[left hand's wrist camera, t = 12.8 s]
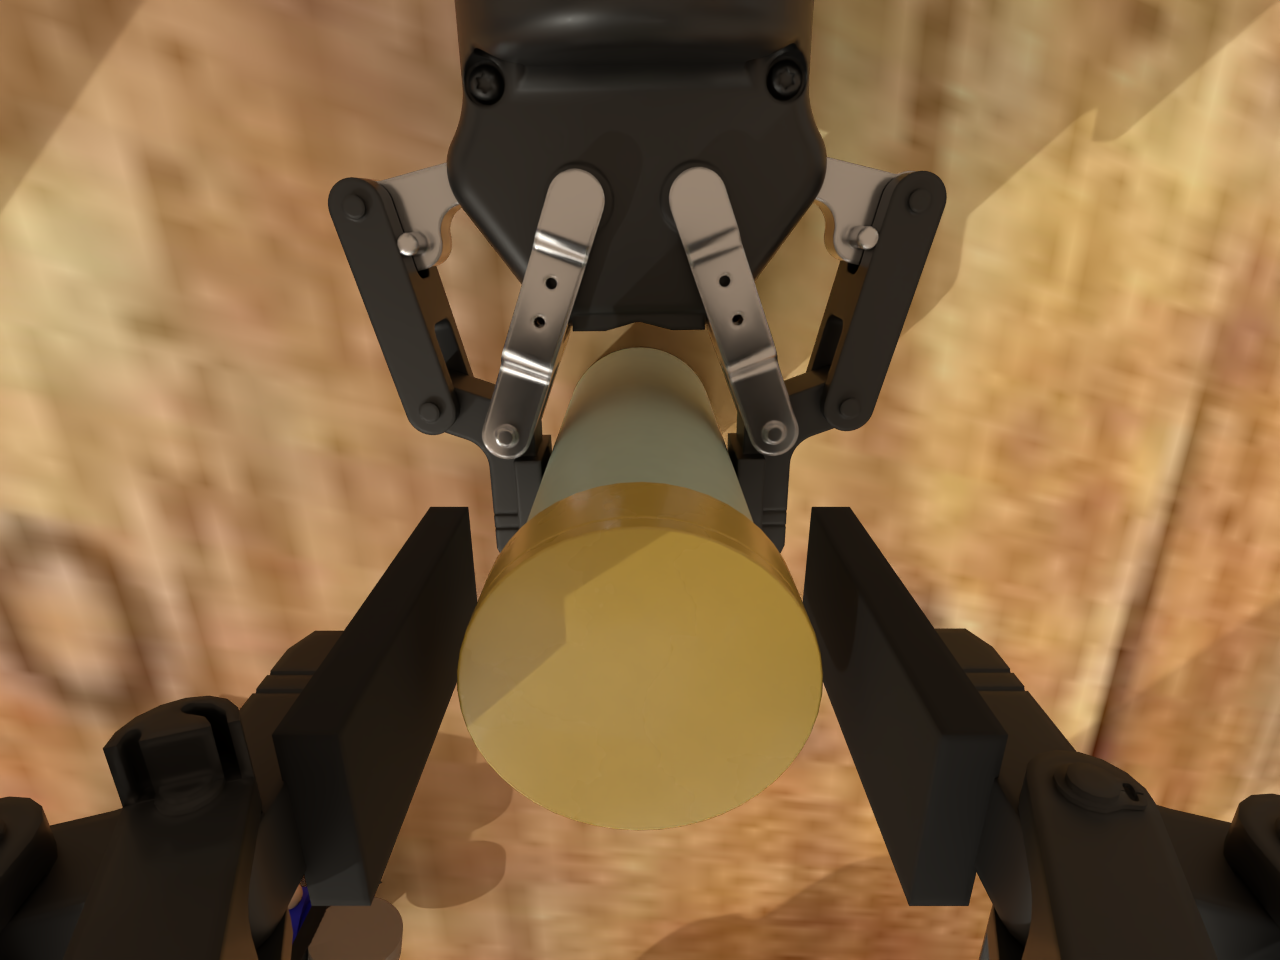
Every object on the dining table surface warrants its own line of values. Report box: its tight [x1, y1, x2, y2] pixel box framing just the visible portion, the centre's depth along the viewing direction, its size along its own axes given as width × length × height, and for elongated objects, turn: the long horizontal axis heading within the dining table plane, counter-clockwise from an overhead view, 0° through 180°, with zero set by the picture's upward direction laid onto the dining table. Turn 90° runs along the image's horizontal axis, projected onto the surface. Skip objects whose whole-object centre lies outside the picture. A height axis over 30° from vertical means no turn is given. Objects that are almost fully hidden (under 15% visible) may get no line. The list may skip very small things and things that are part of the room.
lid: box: [457, 482, 823, 830], centre depth 12 cm, size 6×6×2 cm
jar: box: [527, 347, 753, 522], centre depth 18 cm, size 5×5×15 cm
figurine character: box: [288, 881, 403, 960], centre depth 30 cm, size 7×8×15 cm
